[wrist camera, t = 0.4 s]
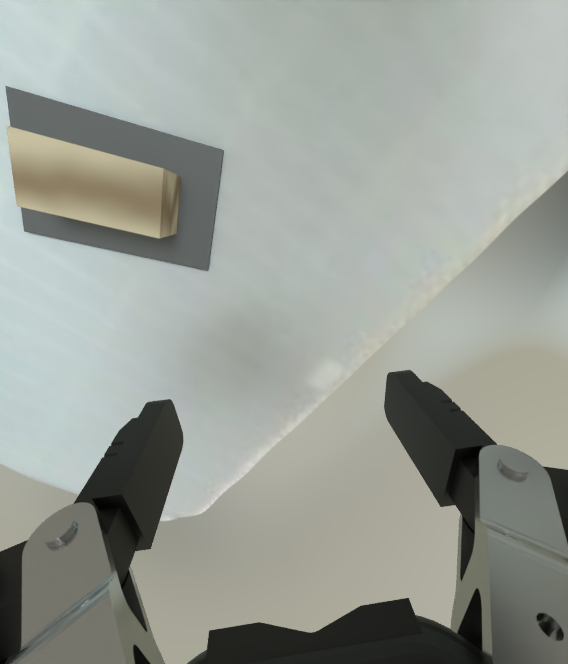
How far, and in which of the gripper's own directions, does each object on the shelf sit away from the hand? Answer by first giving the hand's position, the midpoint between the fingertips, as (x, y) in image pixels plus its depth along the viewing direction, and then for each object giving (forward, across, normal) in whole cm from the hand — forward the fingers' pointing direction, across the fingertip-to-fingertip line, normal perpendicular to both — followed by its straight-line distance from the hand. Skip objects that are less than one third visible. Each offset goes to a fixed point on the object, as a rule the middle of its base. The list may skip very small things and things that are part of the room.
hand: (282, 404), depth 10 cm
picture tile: (+27, +14, -10) cm, 32 cm away
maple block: (+26, +15, -10) cm, 32 cm away
